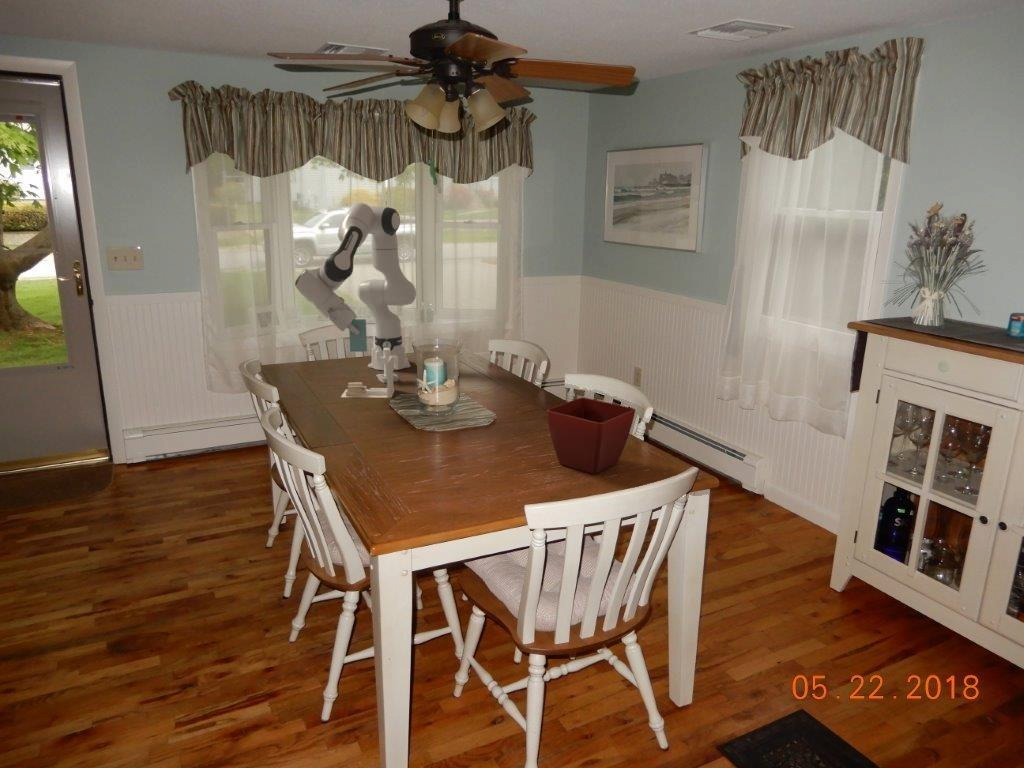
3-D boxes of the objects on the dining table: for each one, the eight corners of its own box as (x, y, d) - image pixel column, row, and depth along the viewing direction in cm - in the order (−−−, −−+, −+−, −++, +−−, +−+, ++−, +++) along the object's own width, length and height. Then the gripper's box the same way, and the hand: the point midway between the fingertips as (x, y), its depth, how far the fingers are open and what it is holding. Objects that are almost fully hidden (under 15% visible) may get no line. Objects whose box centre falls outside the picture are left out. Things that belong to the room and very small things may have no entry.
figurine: (401, 384, 292) (401, 348, 288) (380, 387, 287) (378, 351, 283) (395, 380, 298) (394, 345, 294) (373, 383, 293) (372, 347, 289)
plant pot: (580, 447, 224) (582, 396, 219) (633, 462, 212) (636, 408, 208) (543, 464, 209) (544, 409, 205) (598, 481, 198) (601, 423, 193)
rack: (346, 393, 279) (344, 355, 275) (394, 393, 280) (393, 355, 276) (340, 401, 268) (338, 362, 264) (391, 401, 269) (390, 362, 265)
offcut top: (348, 387, 275) (348, 382, 274) (362, 386, 276) (362, 382, 275) (347, 391, 269) (347, 387, 268) (362, 391, 270) (361, 386, 269)
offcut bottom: (349, 390, 277) (349, 385, 277) (366, 390, 277) (366, 386, 277) (345, 396, 269) (345, 391, 269) (363, 396, 270) (363, 391, 269)
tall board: (351, 350, 270) (349, 319, 267) (367, 350, 271) (365, 319, 268) (350, 351, 269) (348, 320, 266) (366, 351, 269) (365, 320, 266)
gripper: (332, 304, 254) (361, 332, 257) (342, 296, 274) (369, 322, 277) (320, 317, 255) (349, 344, 258) (331, 308, 275) (358, 333, 278)
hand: (359, 332), depth 268 cm, fingers closed on tall board, 2 cm apart
